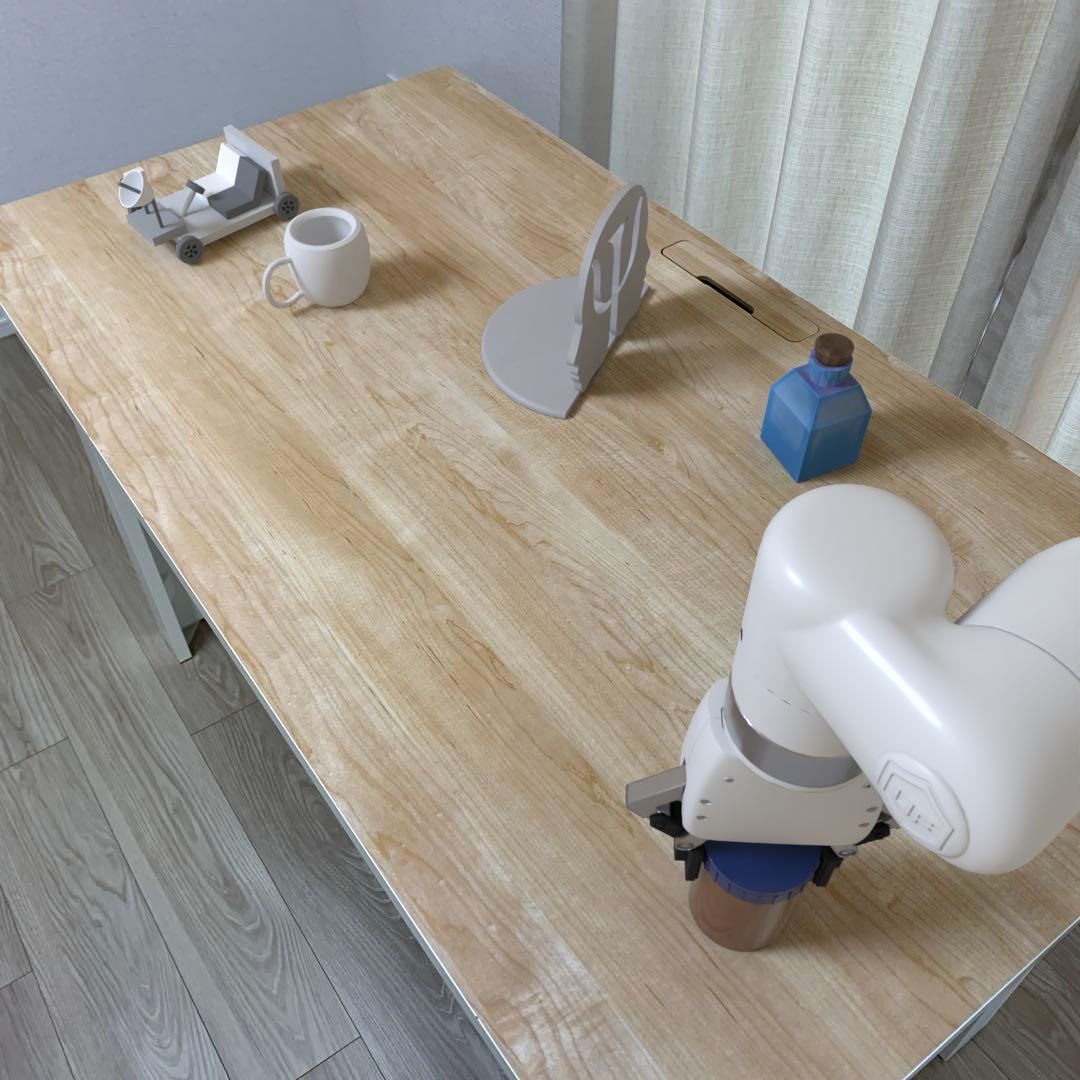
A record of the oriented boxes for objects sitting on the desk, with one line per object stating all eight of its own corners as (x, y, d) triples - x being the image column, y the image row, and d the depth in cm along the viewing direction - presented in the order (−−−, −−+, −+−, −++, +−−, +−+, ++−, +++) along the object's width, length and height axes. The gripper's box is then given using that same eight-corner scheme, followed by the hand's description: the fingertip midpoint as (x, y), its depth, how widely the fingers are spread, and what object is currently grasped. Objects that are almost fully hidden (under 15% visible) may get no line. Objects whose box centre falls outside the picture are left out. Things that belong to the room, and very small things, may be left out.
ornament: (566, 421, 97) (568, 270, 84) (441, 382, 101) (424, 231, 88) (652, 288, 110) (665, 139, 97) (538, 258, 113) (536, 110, 101)
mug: (349, 258, 114) (337, 193, 108) (391, 295, 110) (382, 230, 104) (251, 301, 109) (233, 236, 103) (291, 342, 105) (275, 276, 99)
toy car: (132, 197, 105) (80, 152, 110) (161, 279, 112) (110, 233, 118) (285, 133, 112) (228, 94, 118) (302, 214, 120) (248, 174, 125)
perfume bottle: (760, 437, 95) (781, 333, 86) (818, 418, 97) (845, 313, 88) (796, 482, 92) (823, 378, 82) (856, 462, 93) (889, 357, 84)
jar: (809, 912, 67) (838, 852, 60) (735, 972, 65) (756, 917, 58) (741, 836, 71) (761, 770, 64) (668, 890, 68) (681, 829, 61)
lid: (707, 780, 64) (711, 767, 63) (823, 807, 63) (828, 794, 62) (688, 888, 60) (690, 876, 59) (811, 919, 59) (817, 908, 57)
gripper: (976, 646, 51) (889, 808, 65) (621, 633, 52) (608, 796, 66) (1013, 786, 46) (910, 929, 60) (620, 770, 47) (607, 915, 61)
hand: (753, 859), depth 63 cm, fingers closed on lid, 6 cm apart
